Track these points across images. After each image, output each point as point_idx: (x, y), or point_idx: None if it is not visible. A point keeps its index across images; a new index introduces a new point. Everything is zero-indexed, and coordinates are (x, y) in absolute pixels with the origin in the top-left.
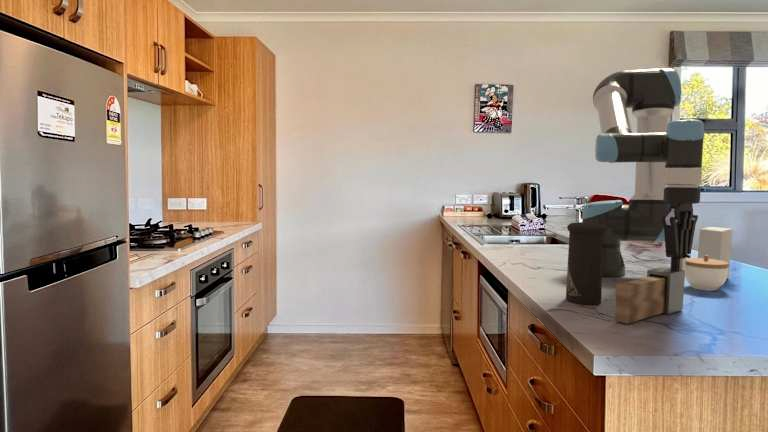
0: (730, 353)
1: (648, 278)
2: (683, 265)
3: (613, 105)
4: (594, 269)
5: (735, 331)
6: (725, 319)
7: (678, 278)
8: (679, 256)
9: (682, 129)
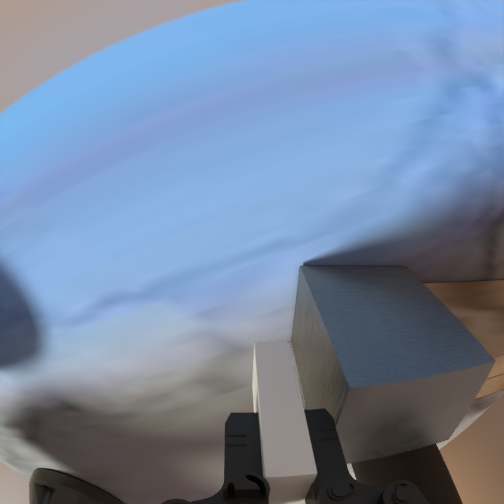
0: None
1: (495, 383)
2: (290, 433)
3: None
4: (446, 484)
5: (433, 47)
6: (301, 102)
7: (407, 350)
8: (358, 488)
9: None
